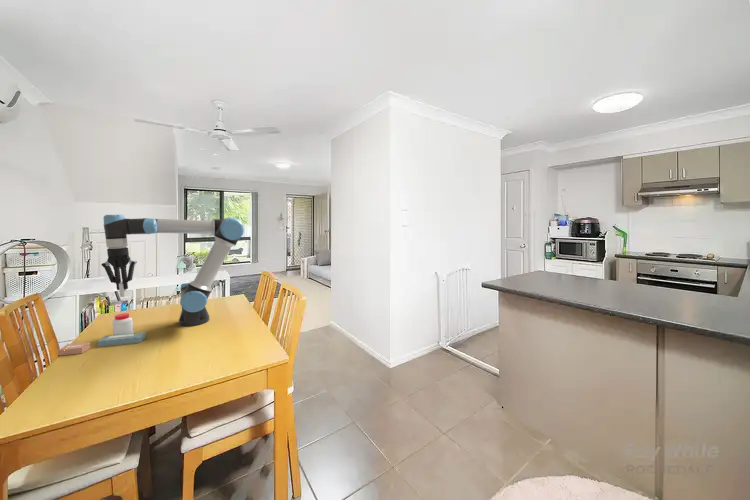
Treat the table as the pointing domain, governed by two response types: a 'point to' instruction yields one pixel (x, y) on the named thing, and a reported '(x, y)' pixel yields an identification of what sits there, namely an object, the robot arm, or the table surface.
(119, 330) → the pill bottle
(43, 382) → the table surface
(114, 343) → the blue labeled box
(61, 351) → the pink labeled box
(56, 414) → the table surface
